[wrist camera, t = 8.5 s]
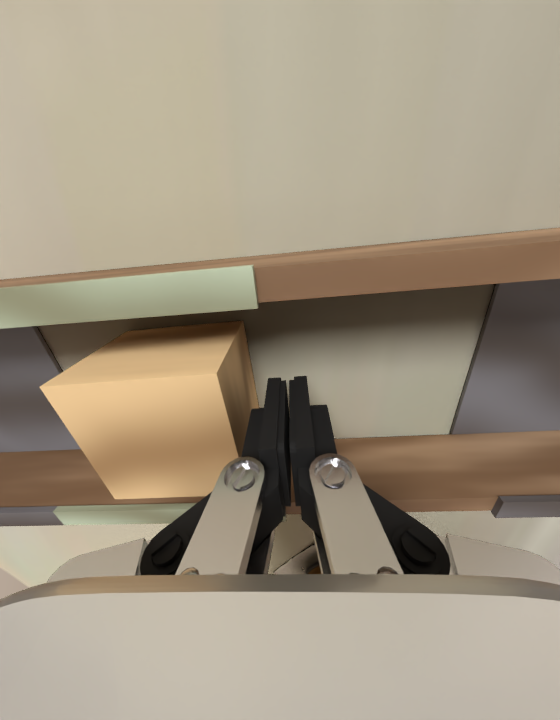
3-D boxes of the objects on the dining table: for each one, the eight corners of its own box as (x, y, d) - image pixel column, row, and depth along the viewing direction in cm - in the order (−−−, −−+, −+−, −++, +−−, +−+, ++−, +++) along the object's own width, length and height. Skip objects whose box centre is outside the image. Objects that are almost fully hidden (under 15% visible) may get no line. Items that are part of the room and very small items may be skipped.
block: (127, 331, 13) (39, 386, 8) (243, 320, 12) (216, 373, 8) (165, 421, 15) (114, 499, 11) (260, 415, 15) (248, 494, 10)
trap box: (-248, 300, 12) (-482, 332, 9) (798, 202, 9) (1155, 184, 5) (-68, 466, 18) (-162, 528, 14) (618, 441, 15) (730, 513, 11)
